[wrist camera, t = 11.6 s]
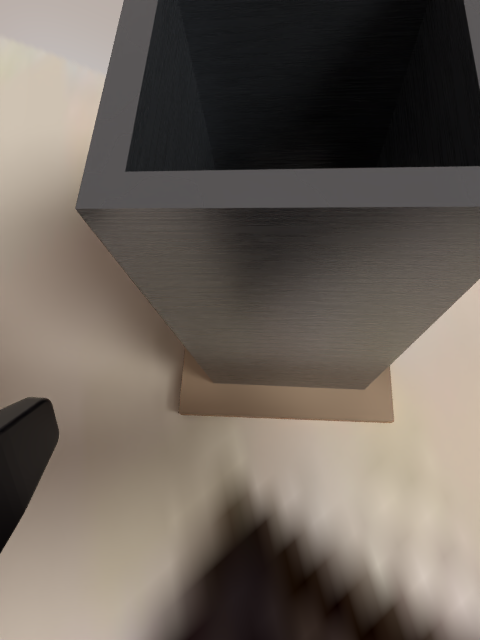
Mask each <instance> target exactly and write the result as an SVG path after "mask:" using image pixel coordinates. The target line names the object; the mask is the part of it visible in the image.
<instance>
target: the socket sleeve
mask: <svg viewBox="0 0 480 640" xmlns="http://www.w3.org/2000/svg"><path fill="white" fill-rule="evenodd" d="M75 209H76V210H77V211H78V213H79V214H80V215H81V217H82V218H83V219H84V220H85V222H86V223H87V224H88V225H89V227H90V228H91V229H92V230H93V232H94V233H95V234H96V235H97V237H98V238H99V239H100V240H101V242H102V243H103V244H104V245H105V247H106V248H107V249H108V251H109V252H110V253H111V254H112V256H113V257H114V258H115V259H116V261H117V262H118V263H119V264H120V266H121V267H122V268H123V269H124V271H125V272H126V273H127V274H128V276H129V277H130V278H131V279H132V281H133V282H134V283H135V285H136V286H137V287H138V288H139V290H140V291H141V292H142V293H143V295H144V296H145V297H146V298H147V300H148V301H149V302H150V303H151V305H152V306H153V307H154V308H155V310H156V311H157V312H158V314H159V315H160V316H161V317H162V319H163V320H164V321H165V322H166V324H167V325H168V326H169V327H170V329H171V330H172V331H173V332H174V334H175V335H176V336H177V337H178V339H179V340H180V341H181V342H182V344H183V345H184V346H185V348H186V349H187V350H188V351H189V353H190V354H191V355H192V356H193V358H194V359H195V360H196V361H197V363H198V364H199V365H200V366H201V368H202V369H203V370H204V371H205V373H206V374H207V375H208V376H209V378H210V379H211V380H212V382H213V383H219V384H242V385H265V386H288V387H311V388H335V389H358V390H365V389H366V388H367V387H368V386H369V385H370V384H371V383H372V382H373V381H374V380H375V379H376V378H377V377H378V376H379V375H380V374H381V373H382V372H383V371H384V370H385V369H386V368H387V367H389V366H390V365H391V364H392V363H393V362H394V361H395V360H396V359H397V358H398V357H399V356H400V355H401V354H402V353H403V352H404V351H405V350H406V349H407V348H408V347H409V346H410V345H411V344H412V343H413V342H414V341H416V340H417V339H418V338H419V337H420V336H421V335H422V334H423V333H424V332H425V331H426V330H427V329H428V328H429V327H430V326H431V325H432V324H433V323H434V322H435V321H436V320H437V319H438V318H439V317H440V316H441V315H443V314H444V313H445V312H446V311H447V310H448V309H449V308H450V307H451V306H452V305H453V304H454V303H455V302H456V301H457V300H458V299H459V298H460V297H461V296H462V295H463V294H464V293H465V292H466V291H467V290H468V289H470V288H471V287H472V286H473V285H474V284H475V283H476V282H477V281H478V280H479V279H480V0H124V2H123V7H122V11H121V15H120V19H119V24H118V28H117V32H116V36H115V41H114V45H113V49H112V54H111V58H110V62H109V67H108V71H107V75H106V79H105V84H104V88H103V92H102V96H101V101H100V105H99V109H98V114H97V118H96V122H95V126H94V131H93V135H92V139H91V144H90V148H89V152H88V156H87V161H86V165H85V169H84V174H83V178H82V182H81V186H80V191H79V195H78V199H77V203H76V208H75Z"/></svg>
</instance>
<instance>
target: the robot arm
mask: <svg viewBox="0 0 480 640" xmlns="http://www.w3.org/2000/svg"><path fill="white" fill-rule="evenodd" d="M58 438H59V429H58V425H57V421H56V417H55V414H54V410H53V406H52V403H51V401H50V400H49V399H47V398H36V397H29V398H25V399H23V400H21V401H19V402H16V403H14V404H12V405H10V406H8V407H5V408H3V409H1V410H0V553H1V552H2V550H3V548H4V546H5V545H6V543H7V541H8V540H9V538H10V536H11V535H12V533H13V531H14V530H15V528H16V526H17V524H18V523H19V521H20V519H21V517H22V515H23V514H24V512H25V510H26V508H27V506H28V504H29V502H30V500H31V498H32V496H33V494H34V491H35V489H36V487H37V485H38V483H39V481H40V479H41V476H42V474H43V472H44V470H45V468H46V466H47V464H48V461H49V459H50V457H51V455H52V453H53V451H54V449H55V447H56V444H57V442H58Z"/></svg>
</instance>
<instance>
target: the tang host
mask: <svg viewBox="0 0 480 640" xmlns="http://www.w3.org/2000/svg"><path fill="white" fill-rule="evenodd" d="M178 413H179V414H181V415H198V416H224V417H249V418H275V419H301V420H326V421H352V422H378V423H392V422H394V414H393V401H392V388H391V375H390V366H389V367H387V368H386V369H385V370H384V371H383V372H382V373H381V374H380V375H379V376H378V377H377V378H376V379H375V380H374V381H373V382H372V383H371V384H370V385H369V386H368V387H367V388H366V389H365V390H358V389H335V388H311V387H288V386H265V385H242V384H219V383H213V382H212V380H211V379H210V378H209V376H208V375H207V374H206V373H205V371H204V370H203V369H202V368H201V366H200V365H199V364H198V363H197V361H196V360H195V359H194V358H193V356H192V355H191V354H190V353H189V351H188V350H187V349H186V348H185V352H184V362H183V372H182V382H181V392H180V402H179V412H178Z"/></svg>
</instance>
